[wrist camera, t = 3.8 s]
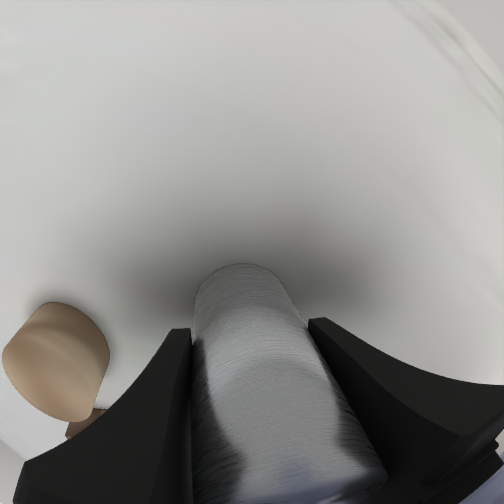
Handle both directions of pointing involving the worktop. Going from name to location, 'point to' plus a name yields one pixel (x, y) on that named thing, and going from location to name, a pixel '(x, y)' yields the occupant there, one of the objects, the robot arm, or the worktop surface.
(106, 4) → the worktop surface
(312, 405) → the tall pin
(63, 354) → the oak stub
